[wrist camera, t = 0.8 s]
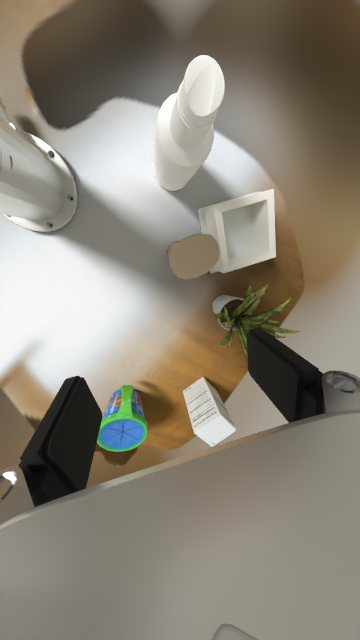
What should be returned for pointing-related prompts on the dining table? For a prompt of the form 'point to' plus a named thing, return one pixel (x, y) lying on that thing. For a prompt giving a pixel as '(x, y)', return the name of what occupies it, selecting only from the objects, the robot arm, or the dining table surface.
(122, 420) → the snack cup
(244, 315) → the house plant
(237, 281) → the dining table surface
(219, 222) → the box
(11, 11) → the dining table surface
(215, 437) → the supplement box
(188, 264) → the handle
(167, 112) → the spray bottle
